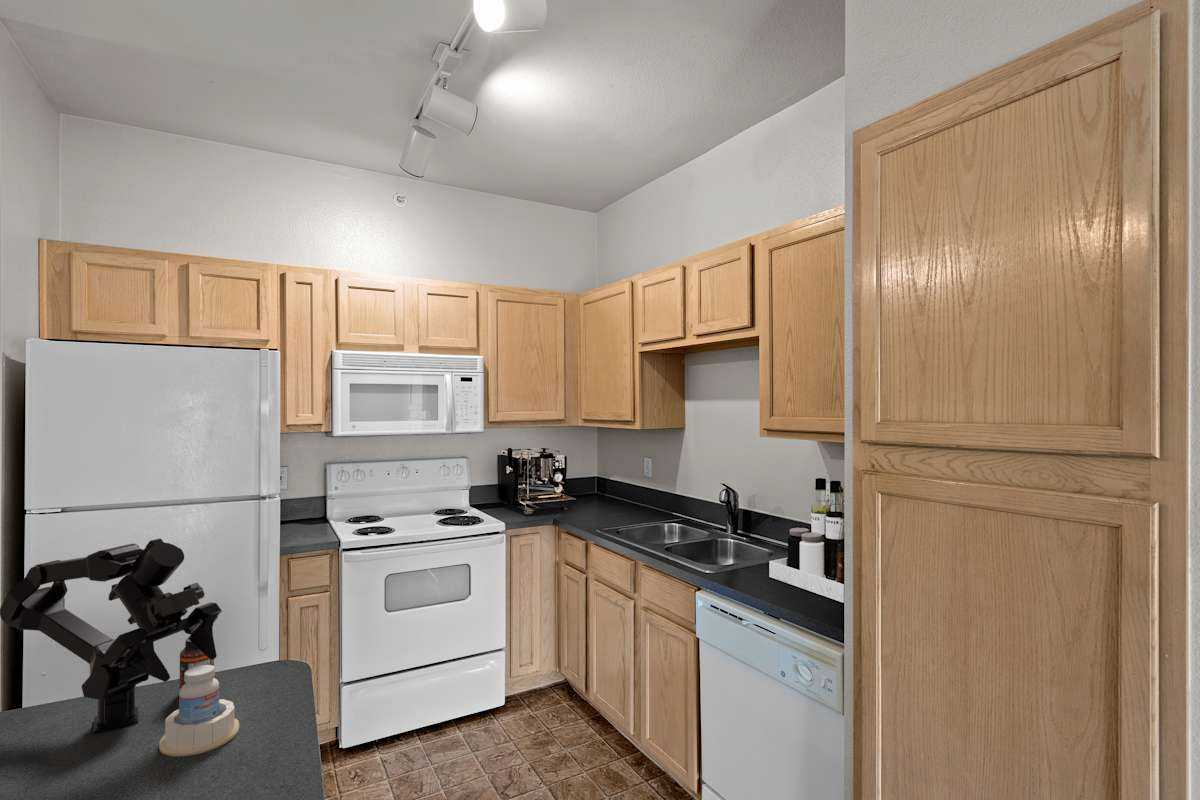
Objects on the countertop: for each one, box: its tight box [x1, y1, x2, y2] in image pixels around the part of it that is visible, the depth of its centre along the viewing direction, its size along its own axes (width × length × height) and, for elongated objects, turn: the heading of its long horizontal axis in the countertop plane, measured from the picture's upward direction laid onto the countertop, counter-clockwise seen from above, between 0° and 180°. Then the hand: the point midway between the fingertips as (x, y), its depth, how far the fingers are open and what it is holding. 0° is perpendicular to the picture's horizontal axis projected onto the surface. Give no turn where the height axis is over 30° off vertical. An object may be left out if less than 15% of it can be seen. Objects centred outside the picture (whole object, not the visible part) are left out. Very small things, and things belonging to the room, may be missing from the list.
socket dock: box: [158, 698, 240, 758], centre depth 109 cm, size 12×12×4 cm
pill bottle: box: [178, 665, 220, 725], centre depth 109 cm, size 6×6×11 cm
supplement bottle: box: [178, 636, 215, 691], centre depth 126 cm, size 6×6×11 cm
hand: (192, 668), depth 109 cm, fingers open, 9 cm apart
